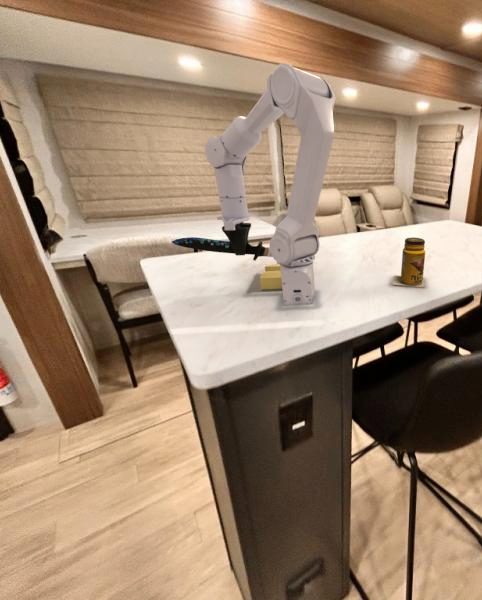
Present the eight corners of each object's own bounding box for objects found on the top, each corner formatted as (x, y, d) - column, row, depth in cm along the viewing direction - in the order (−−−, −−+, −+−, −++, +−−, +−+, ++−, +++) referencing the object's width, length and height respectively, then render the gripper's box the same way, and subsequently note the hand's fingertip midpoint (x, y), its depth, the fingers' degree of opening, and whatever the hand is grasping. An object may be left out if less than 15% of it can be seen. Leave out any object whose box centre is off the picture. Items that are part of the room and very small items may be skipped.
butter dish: (299, 293, 75) (299, 290, 75) (247, 295, 73) (246, 292, 72) (301, 274, 88) (301, 272, 87) (256, 276, 85) (256, 273, 85)
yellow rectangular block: (287, 288, 75) (286, 277, 74) (261, 289, 74) (259, 277, 73) (288, 281, 80) (287, 270, 79) (264, 282, 79) (262, 271, 77)
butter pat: (289, 276, 83) (288, 266, 82) (266, 277, 82) (264, 266, 81) (290, 274, 85) (289, 263, 84) (267, 275, 84) (265, 264, 83)
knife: (305, 262, 83) (306, 245, 81) (305, 265, 80) (306, 248, 78) (177, 250, 76) (176, 232, 74) (172, 253, 73) (170, 234, 71)
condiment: (423, 287, 82) (428, 243, 77) (392, 285, 83) (394, 241, 78) (423, 278, 89) (427, 237, 84) (394, 276, 89) (396, 235, 84)
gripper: (222, 193, 77) (230, 247, 83) (204, 200, 64) (215, 262, 70) (252, 194, 79) (258, 246, 84) (240, 200, 66) (248, 262, 71)
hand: (241, 254), depth 77 cm, fingers closed on knife
